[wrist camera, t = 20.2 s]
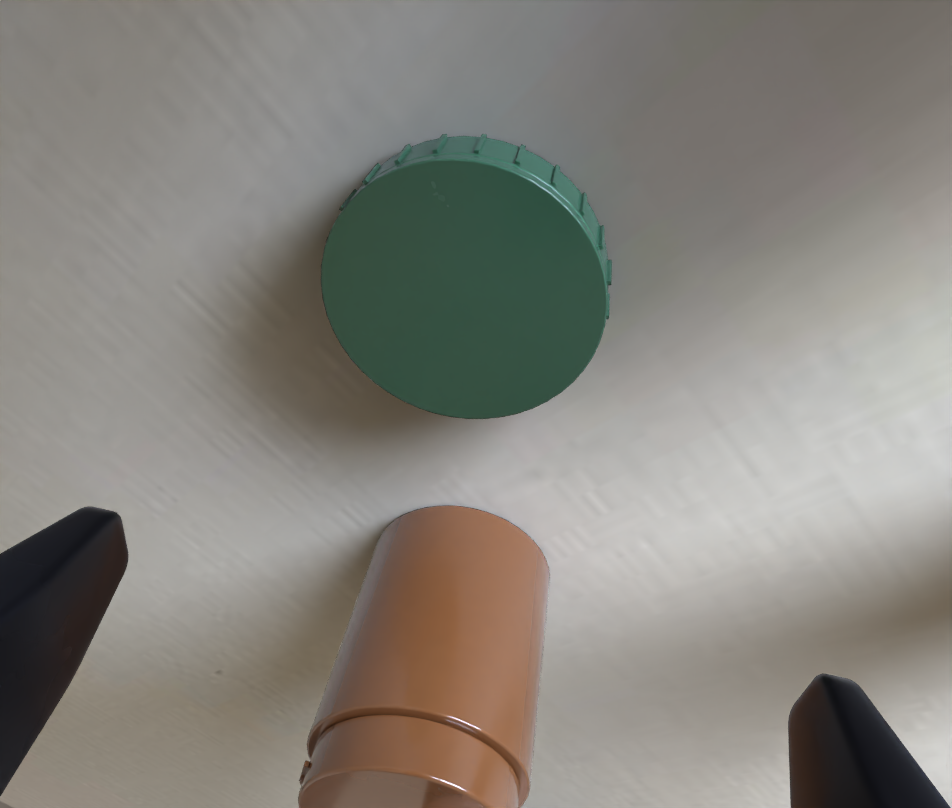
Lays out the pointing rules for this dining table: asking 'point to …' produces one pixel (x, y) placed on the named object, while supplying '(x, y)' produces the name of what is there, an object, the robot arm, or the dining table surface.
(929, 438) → the dining table surface
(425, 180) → the jar lid
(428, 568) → the honey jar
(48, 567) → the robot arm
